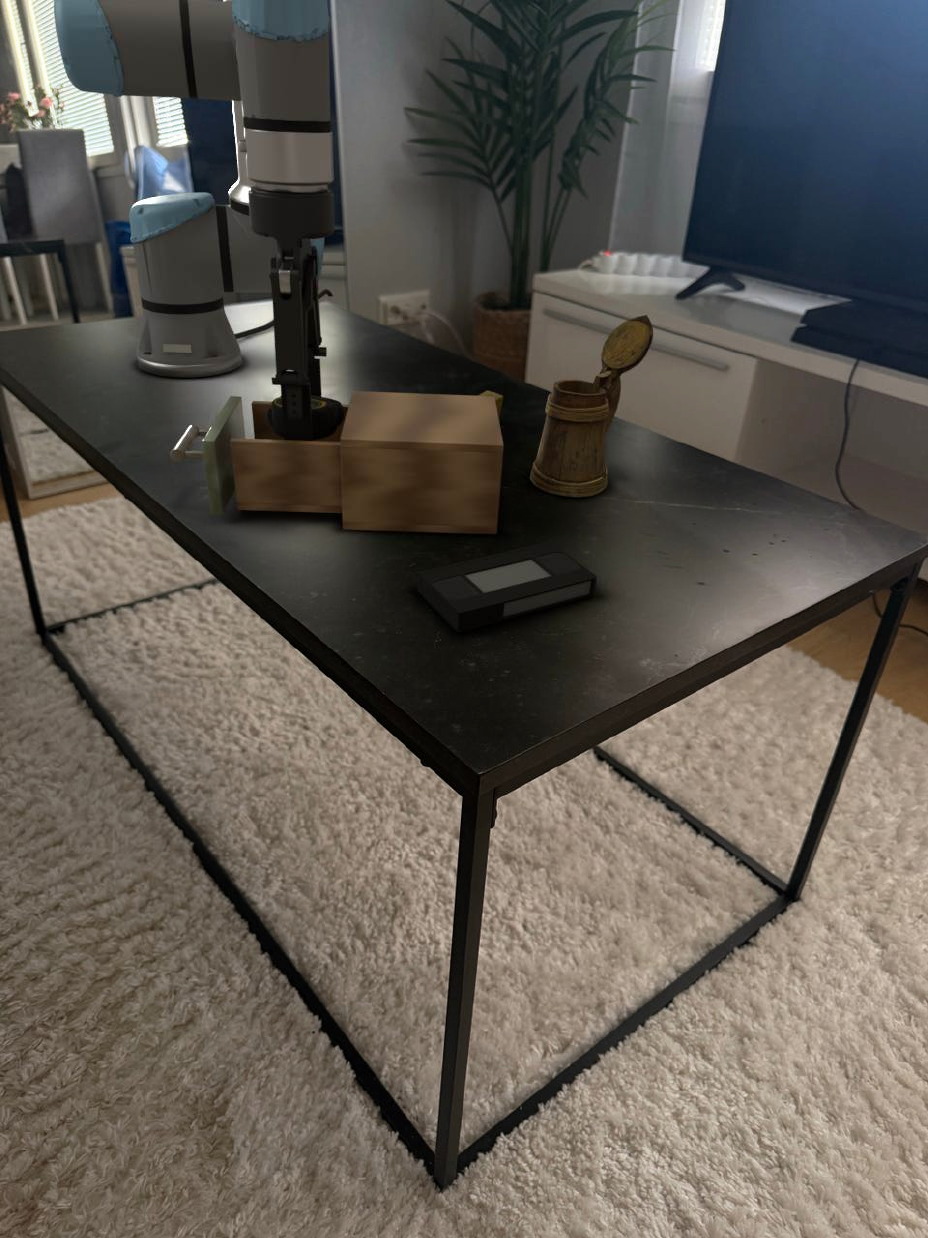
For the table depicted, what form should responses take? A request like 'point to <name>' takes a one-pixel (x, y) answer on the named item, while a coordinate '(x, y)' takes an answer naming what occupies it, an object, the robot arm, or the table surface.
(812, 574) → the table surface
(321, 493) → the drawer
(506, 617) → the vhs tape
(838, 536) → the table surface
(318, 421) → the tape measure
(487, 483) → the cabinet
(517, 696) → the table surface
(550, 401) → the wooden mug
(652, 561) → the table surface
